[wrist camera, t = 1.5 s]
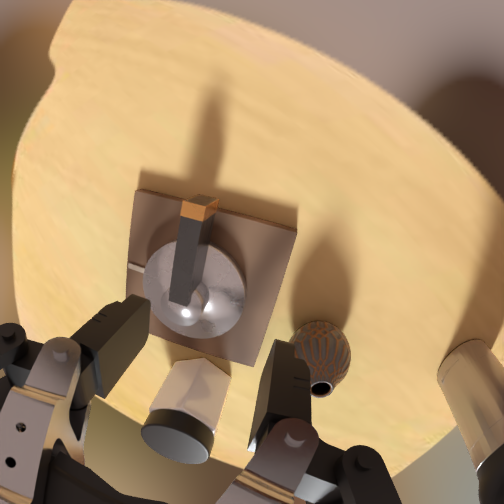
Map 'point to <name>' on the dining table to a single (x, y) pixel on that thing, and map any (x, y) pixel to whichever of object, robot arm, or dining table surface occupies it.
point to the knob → (195, 277)
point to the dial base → (238, 246)
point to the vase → (322, 355)
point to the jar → (187, 411)
